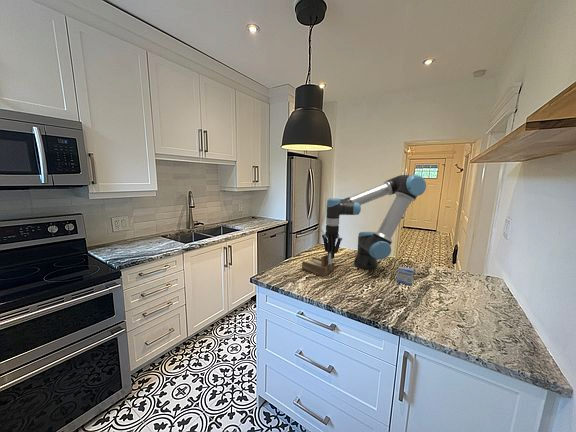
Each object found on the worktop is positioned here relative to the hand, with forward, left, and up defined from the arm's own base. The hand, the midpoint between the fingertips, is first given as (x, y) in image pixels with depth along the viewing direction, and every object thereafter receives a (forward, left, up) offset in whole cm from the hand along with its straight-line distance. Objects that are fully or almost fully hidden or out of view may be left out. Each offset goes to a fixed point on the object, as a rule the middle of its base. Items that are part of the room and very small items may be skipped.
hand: (330, 263), depth 147 cm
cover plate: (0, -9, -4) cm, 10 cm away
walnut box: (0, -9, -8) cm, 12 cm away
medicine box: (-20, +37, -8) cm, 43 cm away
